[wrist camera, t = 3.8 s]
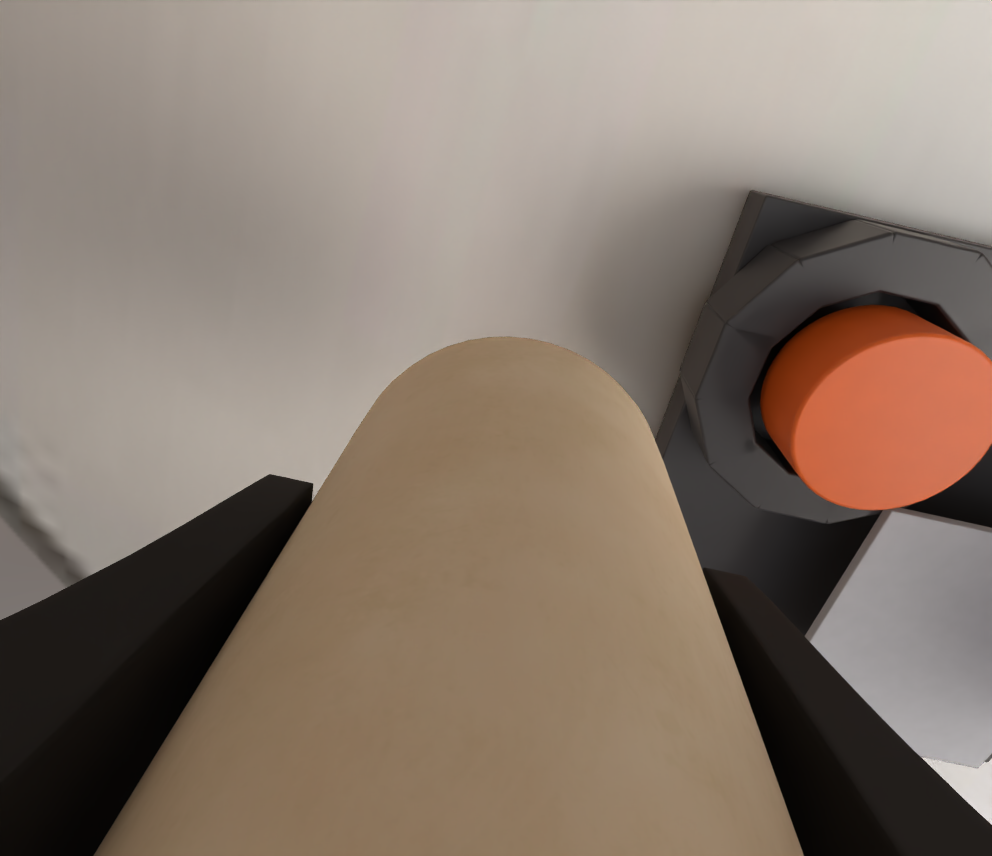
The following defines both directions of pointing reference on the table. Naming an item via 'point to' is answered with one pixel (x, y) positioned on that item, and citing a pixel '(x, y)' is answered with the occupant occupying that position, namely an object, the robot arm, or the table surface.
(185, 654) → the robot arm
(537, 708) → the candle
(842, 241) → the grey base plate
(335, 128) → the table surface
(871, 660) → the tower
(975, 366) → the button
